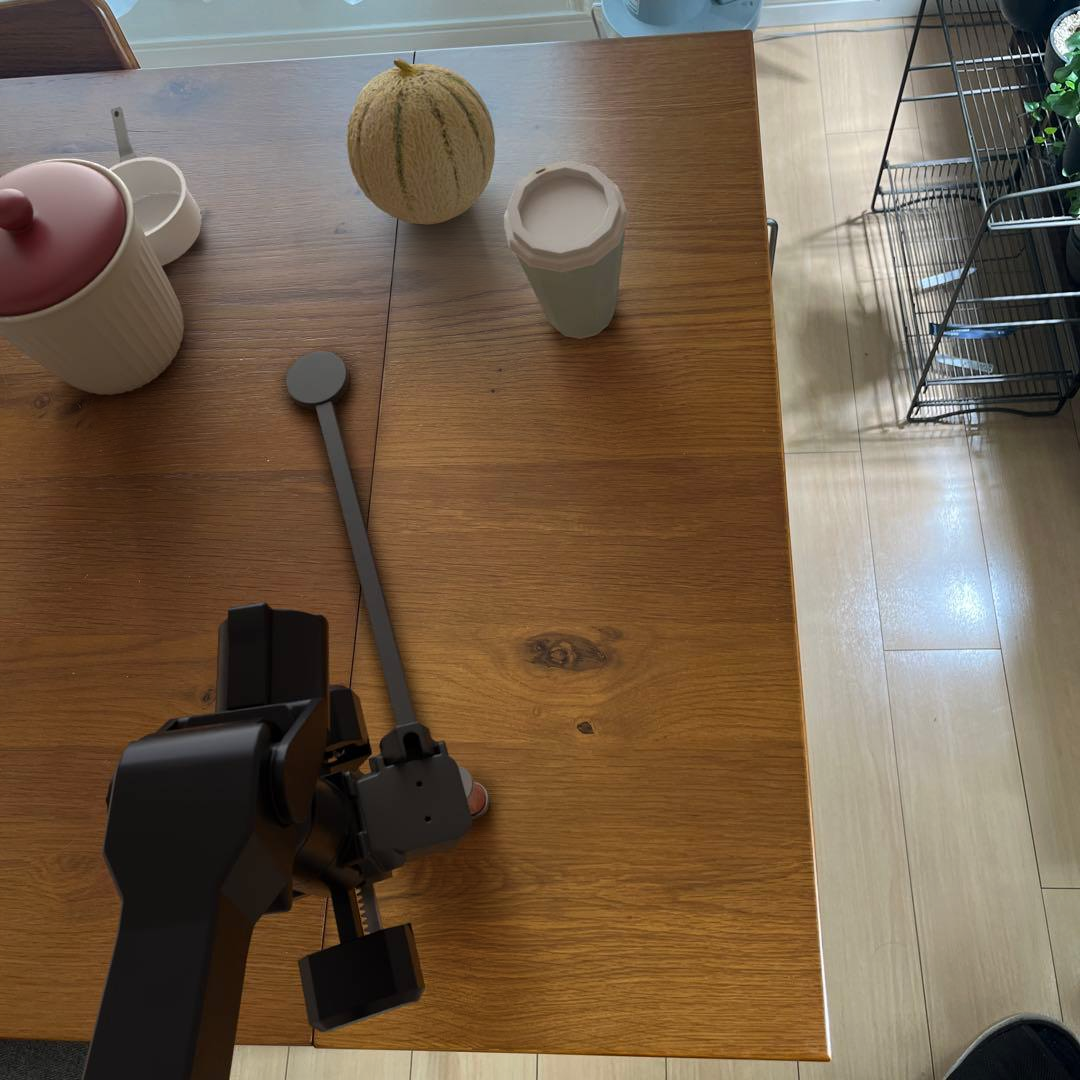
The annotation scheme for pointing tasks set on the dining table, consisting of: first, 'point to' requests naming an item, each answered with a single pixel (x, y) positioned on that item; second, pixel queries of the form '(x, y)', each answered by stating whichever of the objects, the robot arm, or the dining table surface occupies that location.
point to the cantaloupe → (421, 143)
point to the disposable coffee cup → (569, 243)
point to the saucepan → (157, 198)
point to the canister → (83, 278)
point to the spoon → (352, 511)
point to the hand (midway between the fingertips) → (374, 864)
